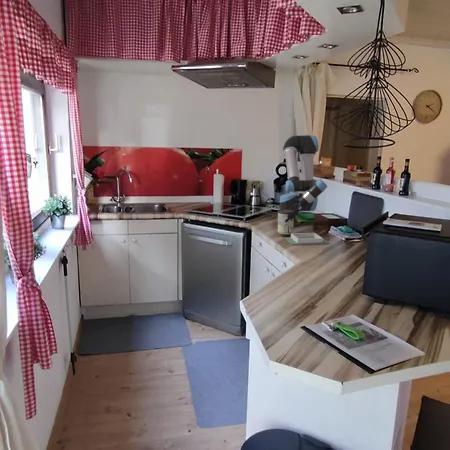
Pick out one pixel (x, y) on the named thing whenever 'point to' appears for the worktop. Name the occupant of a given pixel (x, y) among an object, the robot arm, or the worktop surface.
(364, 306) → the worktop surface
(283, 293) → the worktop surface
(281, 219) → the coffee can
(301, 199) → the robot arm
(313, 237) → the mount plate
